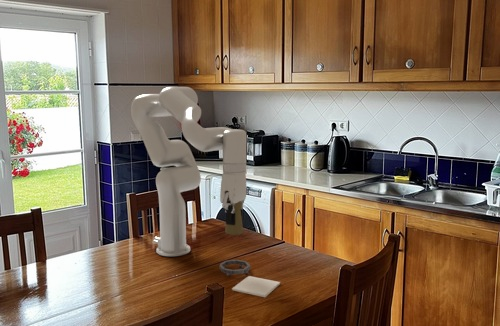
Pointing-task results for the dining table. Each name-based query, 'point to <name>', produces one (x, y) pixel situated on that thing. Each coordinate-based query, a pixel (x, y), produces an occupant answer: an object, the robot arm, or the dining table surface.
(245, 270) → the ring stand
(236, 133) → the robot arm
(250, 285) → the plate
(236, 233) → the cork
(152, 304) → the dining table surface
